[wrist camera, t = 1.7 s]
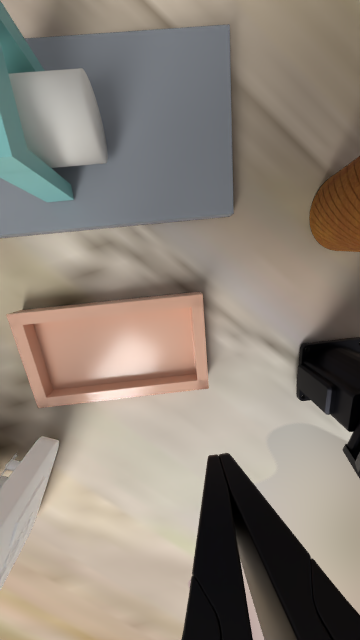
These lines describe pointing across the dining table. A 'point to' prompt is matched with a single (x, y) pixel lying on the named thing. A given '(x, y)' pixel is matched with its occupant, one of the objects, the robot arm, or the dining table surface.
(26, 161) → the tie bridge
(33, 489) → the cable organizer
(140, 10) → the dining table surface
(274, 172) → the dining table surface
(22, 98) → the white bottle
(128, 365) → the tray
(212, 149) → the board
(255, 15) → the dining table surface
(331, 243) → the disposable coffee cup
